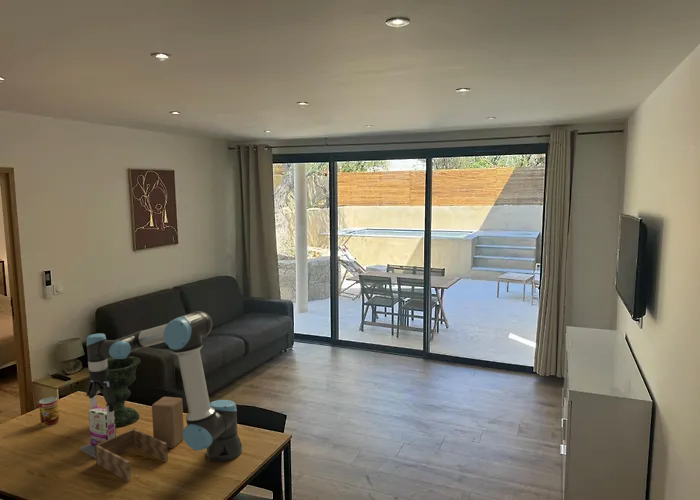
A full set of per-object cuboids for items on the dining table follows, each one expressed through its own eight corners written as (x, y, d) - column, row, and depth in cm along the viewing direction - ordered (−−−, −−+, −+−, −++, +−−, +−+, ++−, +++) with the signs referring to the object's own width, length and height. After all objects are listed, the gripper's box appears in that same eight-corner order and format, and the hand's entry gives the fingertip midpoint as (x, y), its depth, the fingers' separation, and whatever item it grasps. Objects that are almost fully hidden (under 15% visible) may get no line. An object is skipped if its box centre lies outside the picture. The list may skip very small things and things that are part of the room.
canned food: (45, 428, 237) (43, 404, 236) (37, 424, 241) (35, 401, 240) (62, 421, 244) (60, 398, 242) (54, 418, 248) (52, 395, 247)
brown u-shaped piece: (167, 461, 207) (167, 443, 206) (128, 481, 192) (127, 462, 191) (135, 445, 220) (134, 428, 219) (96, 463, 205) (94, 445, 205)
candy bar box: (117, 444, 219) (115, 410, 217) (108, 450, 214) (105, 414, 212) (99, 439, 223) (97, 405, 221) (89, 445, 219) (87, 410, 217)
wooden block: (173, 449, 216) (170, 406, 214) (153, 447, 218) (150, 404, 216) (185, 438, 226) (183, 397, 224) (165, 436, 228) (163, 395, 226)
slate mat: (127, 445, 220) (127, 443, 220) (96, 459, 209) (96, 456, 209) (110, 436, 228) (110, 434, 228) (80, 449, 217) (80, 447, 216)
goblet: (121, 433, 232) (117, 372, 228) (83, 427, 238) (79, 368, 234) (152, 413, 253) (149, 357, 249) (116, 408, 259) (113, 353, 255)
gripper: (122, 371, 210) (126, 418, 213) (92, 361, 224) (95, 405, 227) (105, 376, 204) (109, 424, 207) (75, 366, 218) (79, 411, 221)
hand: (102, 414), depth 217 cm, fingers open, 13 cm apart
